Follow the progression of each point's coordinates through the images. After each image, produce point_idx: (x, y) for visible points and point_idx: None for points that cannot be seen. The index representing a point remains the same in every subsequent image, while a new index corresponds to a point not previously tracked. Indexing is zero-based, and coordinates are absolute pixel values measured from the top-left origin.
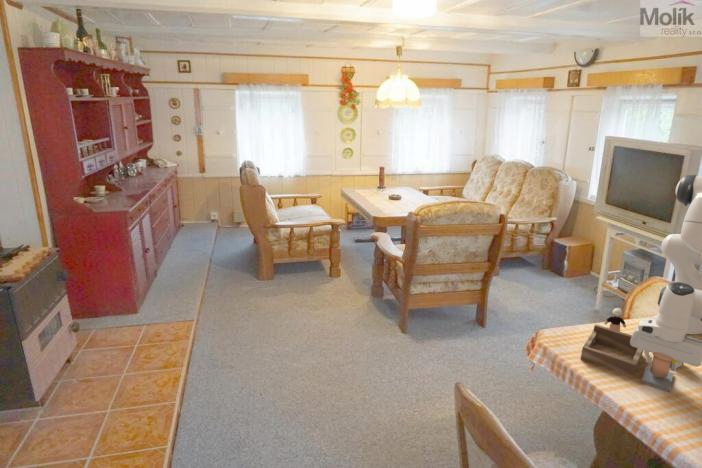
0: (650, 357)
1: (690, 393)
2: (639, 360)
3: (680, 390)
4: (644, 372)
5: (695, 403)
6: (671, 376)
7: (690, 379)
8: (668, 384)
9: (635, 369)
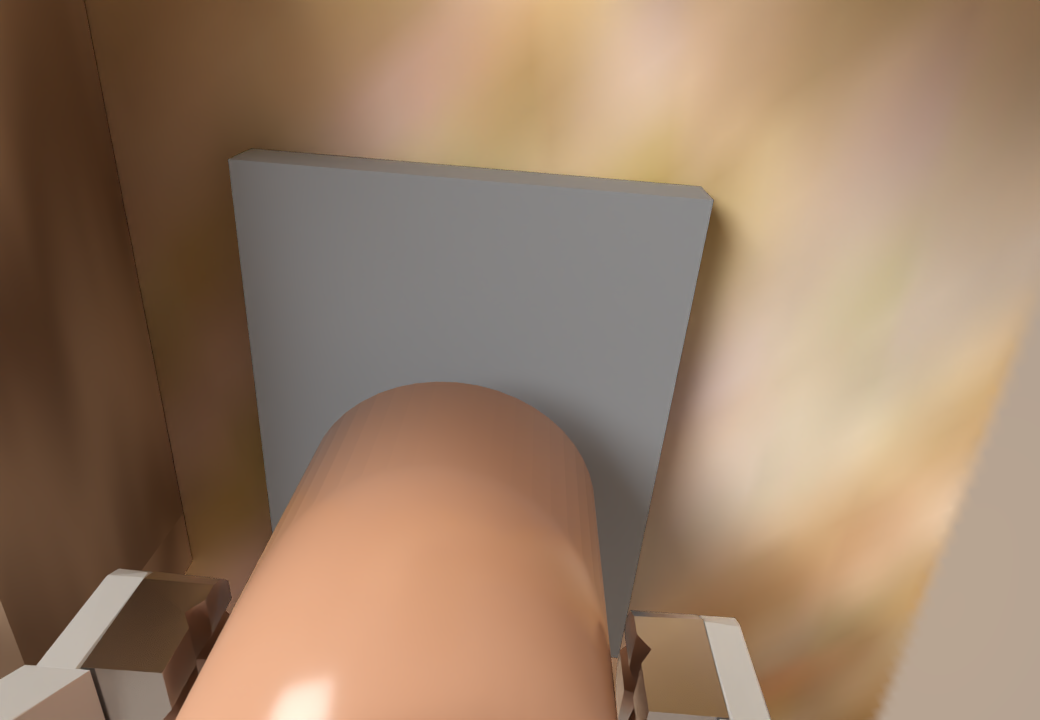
0: (128, 707)
1: (877, 529)
2: (53, 103)
3: (757, 529)
4: (267, 452)
5: (882, 678)
6: (662, 337)
7: (1004, 114)
8: (608, 569)
9: (127, 565)
